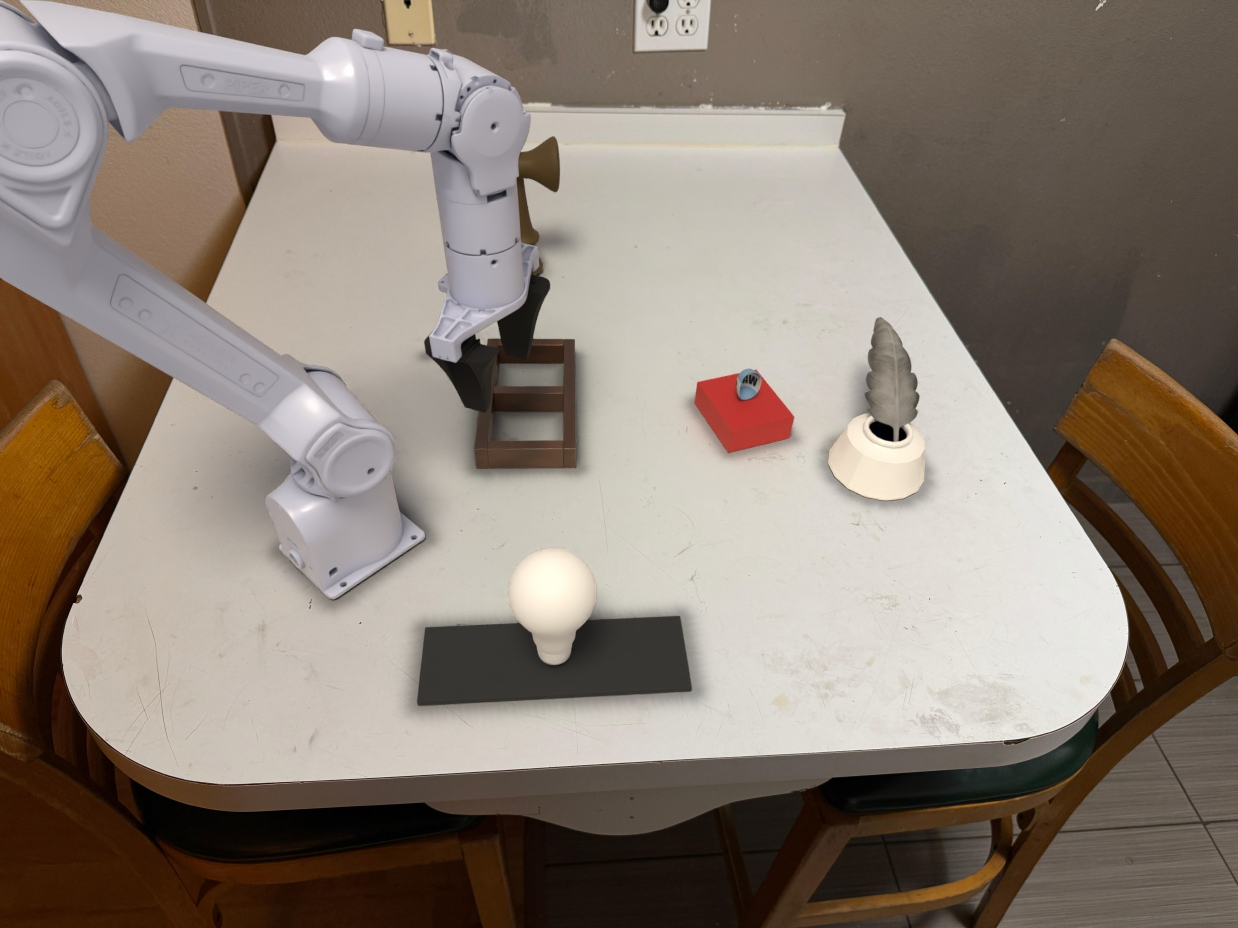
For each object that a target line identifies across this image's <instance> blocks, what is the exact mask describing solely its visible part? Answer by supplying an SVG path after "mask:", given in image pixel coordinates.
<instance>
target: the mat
mask: <svg viewBox="0 0 1238 928" xmlns="http://www.w3.org/2000/svg"><path fill="white" fill-rule="evenodd" d="M684 637H685V636H684V631H683V624H682V619H681V615H669V616H668V615H667V616H666V615H665V616H664V615H663V616H644V617H643V616H642V617H622V618H621V617H620V618H602V619H587V621H586V622H585V623H584V624H583V625H582V626H581V627H580V628H578V629H577V630H576V634H575V639H574V641H573V643H572V648H571V654H570V656H569V658H568V659H567V660H566V661H565V662H563V663H561V664H558V665H550V664H547V663H545V662H543V661H542V660H541V659H540V657H539V655H538V651H537V645H536V644H535V642H534V640H533V636H532V633H531V632H530V631H528V630H527V629H526V628H525V627H524V626H522V625H521V624H520V623H519V622H512V623H511V622H509V623H490V624H470V625H468V624H467V625H446V626H444V625H443V626H425V627H424V634H423V643H422V652H421V661H420V669H419V670H420V671H419V679H418V689H417V697H416V703H417V704H416V705H417V706H419V707H420V706H438V705H439V706H440V705H457V704H474V703H493V702H494V703H495V702H514V701H531V700H550V699H552V700H553V699H571V698H587V697H590V698H591V697H606V696H608V697H610V696H628V695H645V694H664V693H681V692H682V693H683V692H685V693H686V692H692V689H693V687H692V686H693V685H692V681H691V674H690V668H689V661H688V656H687V650H686V643H685V638H684Z"/></svg>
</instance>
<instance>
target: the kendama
mask: <svg viewBox="0 0 1238 928" xmlns="http://www.w3.org/2000/svg"><path fill="white" fill-rule="evenodd" d="M560 158H561V157H560V149H559V143H558V140H557V138H556V136H553V135H552V136H550V137H548V138H547V139H545V140H544V141H542V142H541V143H540V144H538V145H537V146H536V147H534V148H532V149H530V150H527V151H521V152H520V155H519V159H518V169H519V177H517V178H516V179H517V192H518V206H519V219H520V235H521V243H524V244H529V245H533V246H537V243H538V242H539V241H540V238H541V235H540V233H539V231H538V230H537V229H535V228H534V227H533V223H532V220H531V215H530V211H529V204H528V200H527V199H528V198H527V193H526V192H527V191H526V184H525V179H526V180H527V179H528V180H531V181H534V182H536V183H538V184H540V185H541V186H542V187H544V188H546V189H547V190H549V191H551V192H553V193H558V191H559V188H560V182H561V159H560ZM543 267H544V264H543V261H542V258H541V257H539V267H538V268H537V270H536V271H534V272H533V275H537V276H538V275H539V274H540V273H541V272H542V271H543Z"/></svg>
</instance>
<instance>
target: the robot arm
mask: <svg viewBox="0 0 1238 928" xmlns="http://www.w3.org/2000/svg"><path fill="white" fill-rule="evenodd" d="M19 2H20V3H21V5H22V6H23V7H24V8H25V9H26V10H27V11H28V12H29V13H30V14H31V15H32V16H33V17H34V18H35V19H36V21H38V22H35V21H34V20H33V19H32V18H31V17H29V16H28V15H27V14H26V13H25V12H23V11H21V10H20V9H19V8H17V7H15V6H13V5H12V4H9V3H7V2H5V1H3V0H0V279H2V281H4V282H5V283H8V284H9V285H11V286H13V287H14V288H16V289H18V290H20V291H22V292H23V293H25V294H27V295H29V297H32V298H34V299H36V300H37V301H39V302H40V303H42V304H44V305H45V306H48V307H50V308H51V309H53V310H54V311H56V312H58V313H60V314H61V315H63V316H65V317H66V318H69V319H70V320H72V321H74V322H75V323H77V324H79V325H81V326H83V327H84V328H86V329H88V330H89V331H91V332H92V333H95V334H96V335H98V336H100V337H101V338H104V339H105V340H107V341H108V342H109V343H113V344H114V345H116V346H117V347H119V348H121V349H123V350H125V351H126V352H128V353H130V354H131V355H133V356H135V357H137V358H139V359H140V360H142V361H144V362H145V363H146V364H148V365H150V366H152V367H154V368H155V369H158V370H159V371H161V372H162V373H165V374H166V375H168V376H169V377H171V378H173V379H175V380H177V381H178V382H180V383H182V384H183V385H186V386H187V387H189V388H191V389H192V390H194V391H195V392H197V393H199V394H201V395H203V396H205V397H206V398H208V399H209V400H211V401H213V402H215V403H217V404H218V405H220V406H222V407H224V408H226V409H227V410H229V411H231V412H233V413H234V414H236V415H237V416H239V417H241V418H243V419H245V420H246V421H248V422H250V423H251V424H253V425H255V426H257V427H258V428H259V429H260V430H261V431H262V432H263V433H264V434H265V435H266V436H268V437H269V438H270V439H271V440H272V441H273V442H274V443H276V445H277V446H279V448H281V449H282V450H283V451H284V452H285V453H286V454H287V455H289V456H290V472H289V474H288V475H287V476H286V477H285V479H284V480H283V481H282V482H281V483H280V484H279V485H278V486H277V487H276V488H275V489H274V490H272V491H271V492H270V493H268V494H267V495H266V496H265V499H264V503H265V507H266V510H267V513H268V515H269V518H270V521H271V524H272V525H273V528H274V530H275V533H276V536H277V539H278V541H279V545H278V549H279V551H280V553H282V554H283V555H284V556H285V557H286V558H287V559H288V560H289V561H290V562H291V563H292V564H293V565H294V566H295V567H296V568H297V569H298V570H299V571H300V572H301V573H302V574H303V575H304V576H305V577H306V578H307V579H308V580H309V581H310V582H311V583H313V585H315V587H316V588H317V589H319V590H320V591H321V593H323V594H324V596H326V598H328V599H329V600H335V599H337V598H339V597H340V596H341V597H342V595H343V594H345V593H347V592H348V591H350V590H351V589H353V588H355V586H357V585H358V584H360V583H362V582H363V581H364V580H366V579H368V578H369V577H370V576H372V575H374V574H375V573H377V572H378V571H379V570H381V569H383V568H384V567H385V566H387V565H388V564H389V563H391V562H392V561H394V560H396V559H397V558H398V557H400V556H401V555H403V554H404V553H406V552H408V551H409V550H410V549H412V548H414V547H415V546H417V545H418V544H419V543H421V542H422V541H424V540H425V538H426V534H425V531H424V530H422V529H421V528H420V527H419V526H418V525H417V524H415V523H414V521H412V520H411V519H409V518H408V517H407V516H406V515H405V514H404V513H403V512H401V511H400V508H399V503H398V498H397V494H396V489H395V485H394V480H393V479H394V478H393V476H392V471H391V470H392V469H393V466H394V465H395V462H396V459H397V455H398V444H397V441H396V438H395V437H394V434H393V433H392V432H391V431H390V430H389V429H388V428H387V427H386V426H384V425H382V424H381V423H380V422H379V421H378V420H377V419H376V418H375V417H374V416H373V414H372V413H371V412H370V411H369V410H368V408H366V407H365V405H363V403H362V402H361V401H360V400H359V399H358V397H356V395H355V394H354V393H353V391H351V390H350V388H349V387H347V384H346V383H345V382H344V380H343V379H342V377H341V375H340V374H339V373H337V372H336V371H335V370H334V369H332V368H329V367H326V366H323V365H316V364H308V363H304V362H302V361H300V360H299V359H296V358H295V357H293V356H292V355H291V354H289V353H284V354H282V355H281V354H280V353H278V352H277V351H275V350H274V349H272V348H271V347H270V346H268V345H267V344H265V343H264V342H263V341H261V340H260V339H259V338H257V337H256V336H254V335H253V334H251V333H250V332H249V331H247V330H245V329H244V328H243V327H241V326H240V325H238V324H237V323H235V322H234V321H232V320H231V319H229V318H228V317H227V316H225V315H224V314H222V313H221V312H220V311H218V310H216V309H215V308H214V307H212V306H211V305H209V304H208V303H206V302H205V301H203V300H202V299H200V298H199V297H198V296H196V295H195V294H194V293H192V292H191V291H189V290H187V289H186V288H185V287H183V286H182V285H181V284H179V283H177V282H176V281H175V280H173V279H172V278H170V277H168V276H167V275H166V274H164V273H163V272H161V270H159V269H158V268H157V267H155V266H153V265H151V264H150V263H149V262H148V261H146V260H144V259H143V258H142V257H140V256H138V255H137V254H135V252H132V251H131V250H130V249H128V248H127V247H125V246H124V245H123V244H121V243H120V242H118V241H117V240H116V239H114V238H112V237H111V236H110V235H108V233H105V232H104V231H103V230H101V229H100V228H98V227H96V226H95V225H94V224H93V223H92V213H91V199H90V197H91V193H92V190H93V188H94V185H95V182H96V180H97V177H98V174H99V172H100V168H101V166H102V163H103V160H104V157H105V154H106V150H107V146H108V142H109V141H108V140H109V132H110V131H109V129H110V128H109V124H110V126H111V127H113V129H114V130H115V131H116V132H117V133H118V135H120V137H121V138H122V139H123V140H124V141H125V142H126V144H131V143H134V142H135V141H136V140H138V139H139V138H140V137H141V136H142V135H143V134H144V133H145V132H146V131H147V130H148V128H149V127H151V125H153V124H154V122H155V121H156V120H157V119H158V118H159V117H160V116H161V115H162V114H163V113H165V111H166V110H169V109H172V108H173V109H174V108H175V109H176V108H177V109H189V110H203V111H216V112H228V113H229V112H230V113H240V114H241V113H243V114H255V115H269V116H282V117H295V118H306V119H307V118H309V119H310V120H311V121H312V122H313V124H314V125H315V126H316V128H317V130H319V131H320V133H321V134H322V135H323V136H324V138H325V139H327V140H328V141H329V142H332V143H334V144H343V145H351V146H361V147H368V148H377V149H378V148H380V149H388V150H396V151H408V152H415V153H425V154H426V153H427V154H428V153H430V160H431V161H430V162H431V168H432V174H433V175H432V176H433V182H434V188H435V195H436V203H437V210H438V216H439V224H440V230H441V238H442V243H443V250H444V258H445V264H446V271H447V272H446V273H445V274H444V275H443V276H442V277H441V278H440V279H439V280H438V282H437V287H438V290H439V292H441V293H444V294H445V297H444V301H443V304H442V307H441V311H440V314H439V318H438V320H437V323H436V326H435V327H434V328H433V330H432V331H431V332H430V333H429V334H428V335H427V336H426V338H425V339H424V341H423V345H424V350H425V354H426V355H427V356H428V358H430V359H431V360H432V361H434V363H435V364H437V366H439V368H440V369H441V370H442V371H443V373H444V374H445V375H446V376H447V378H448V379H449V380H450V383H451V384H452V385H453V388H454V390H455V392H456V393H457V395H458V397H459V399H460V401H461V403H462V405H463V407H464V408H465V409H469V410H473V411H476V412H478V413H479V412H483V413H485V412H487V410H488V409H489V407H490V403H491V377H492V371H493V366H494V363H495V360H496V357H497V355H498V353H499V351H500V349H499V348H495V347H491V346H487V344H483V343H482V342H481V339H480V338H477V336H476V335H477V334H478V333H479V332H481V331H482V330H483V331H484V330H485V329H486V328H489V327H490V326H492V325H494V324H495V323H496V324H497V327H498V333H499V339H501V343H502V347H503V350H504V352H505V355H508V356H512V357H516V358H520V359H524V360H526V359H527V358H528V357H529V354H530V351H531V346H532V341H533V339H534V335H535V331H536V325H537V321H538V317H539V315H540V312H541V309H542V306H543V304H544V301H545V299H546V297H547V296H548V293H549V292H550V290H551V281H550V280H549V278H547V277H545V276H541V275H538V274H537V275H533V272H534V271H536V270H537V268H538V267H539V258H540V255H539V253H540V252H539V246H538V245H536V246H533V245H529V244H524V243H521V235H520V219H519V206H518V192H517V179H516V178H517V177H519V169H518V159H519V155H520V152H522V150H523V149H524V146H525V145H526V142H527V140H528V137H529V134H530V129H531V123H532V122H531V121H532V118H531V117H532V116H531V115H532V114H531V113H530V112H527V111H526V110H524V106H523V101H522V98H521V96H520V93H519V92H518V90H517V88H516V87H514V86H513V85H512V83H511V82H510V81H509V80H507V79H505V78H504V77H501V76H500V75H498V74H496V73H494V72H492V71H490V70H488V69H487V68H485V67H483V66H481V65H479V64H477V63H475V62H474V61H472V60H470V59H468V58H466V57H464V56H461V55H458V54H454V53H452V52H451V51H450V50H448V49H447V48H436V47H431V48H430V49H429V52H428V54H425V53H419V52H414V51H408V50H404V49H399V48H394V47H390V46H384V44H385V40H384V39H383V37H381V36H379V35H378V34H376V33H374V32H373V31H369V30H363V29H360V28H353V30H352V32H351V33H352V34H351V38H344V37H339V36H330V37H328V38H326V39H324V40H323V41H322V42H320V44H318V45H317V46H316V47H315V48H314V49H312V50H311V51H310V52H308V53H307V54H301V53H298V52H297V53H296V52H291V51H287V50H283V49H278V48H275V47H274V48H273V47H269V46H265V45H260V44H257V43H256V44H255V43H251V42H247V41H242V40H237V39H233V38H229V37H224V36H219V35H215V34H210V33H206V32H201V31H197V30H194V29H193V30H191V29H189V28H188V29H187V28H184V27H180V26H174V25H170V24H165V23H160V22H157V21H153V20H149V19H143V18H138V17H134V16H129V15H126V14H125V15H124V14H121V13H116V12H110V11H104V10H101V9H94V8H88V7H83V6H78V5H73V4H66V3H61V2H56V1H50V0H19Z"/></svg>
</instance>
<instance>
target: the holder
mask: <svg viewBox="0 0 1238 928" xmlns="http://www.w3.org/2000/svg"><path fill="white" fill-rule="evenodd" d="M486 345H487V346H491V347H495V348H499V349H500V351H499V353H498V355H497V357H496V360H495V363H494V366H493V371H492V377H491V403H490V407H489V409H488V410H487V412H485V413H483V412H479V411H478V414H477V420H476V421H477V422H476V430H475V437H474V444H473V445H474V446H473V453H474V462H475V468H476V469H576V468H577V410H576V409H577V406H576V405H577V403H576V402H577V401H576V400H577V397H576V396H577V395H576V392H577V391H576V339H575V338H533V341H532V346H531V351H530V354H529V357H528V358H527V359H526V360H524V359H520V358H516V357H512V356H508V355H505V352H504V350H503V347H502V343H501V339H500V338H487V340H486ZM501 364H503V365H504V364H506V365H507V364H513V365H515V364H517V365H519V364H522V365H523V364H524V365H525V364H531V365H532V364H536V365H537V364H540V365H541V364H543V365H544V364H545V365H546V364H547V365H549V364H551V365H552V364H554V365H558V364H559V365H560V364H561V365H563V385H498V382H499V374H500V373H499V372H500V365H501ZM496 413H563V414H562V415H563V417H562V418H563V419H562V420H563V421H562V422H563V423H562V424H563V427H562V429H563V430H562V439H561V440H559V439H557V440H556V439H555V440H552V439H551V440H548V439H547V440H546V439H545V440H544V439H543V440H540V439H539V440H493V434H494V433H493V432H494V424H495V423H494V422H495V415H496Z"/></svg>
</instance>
